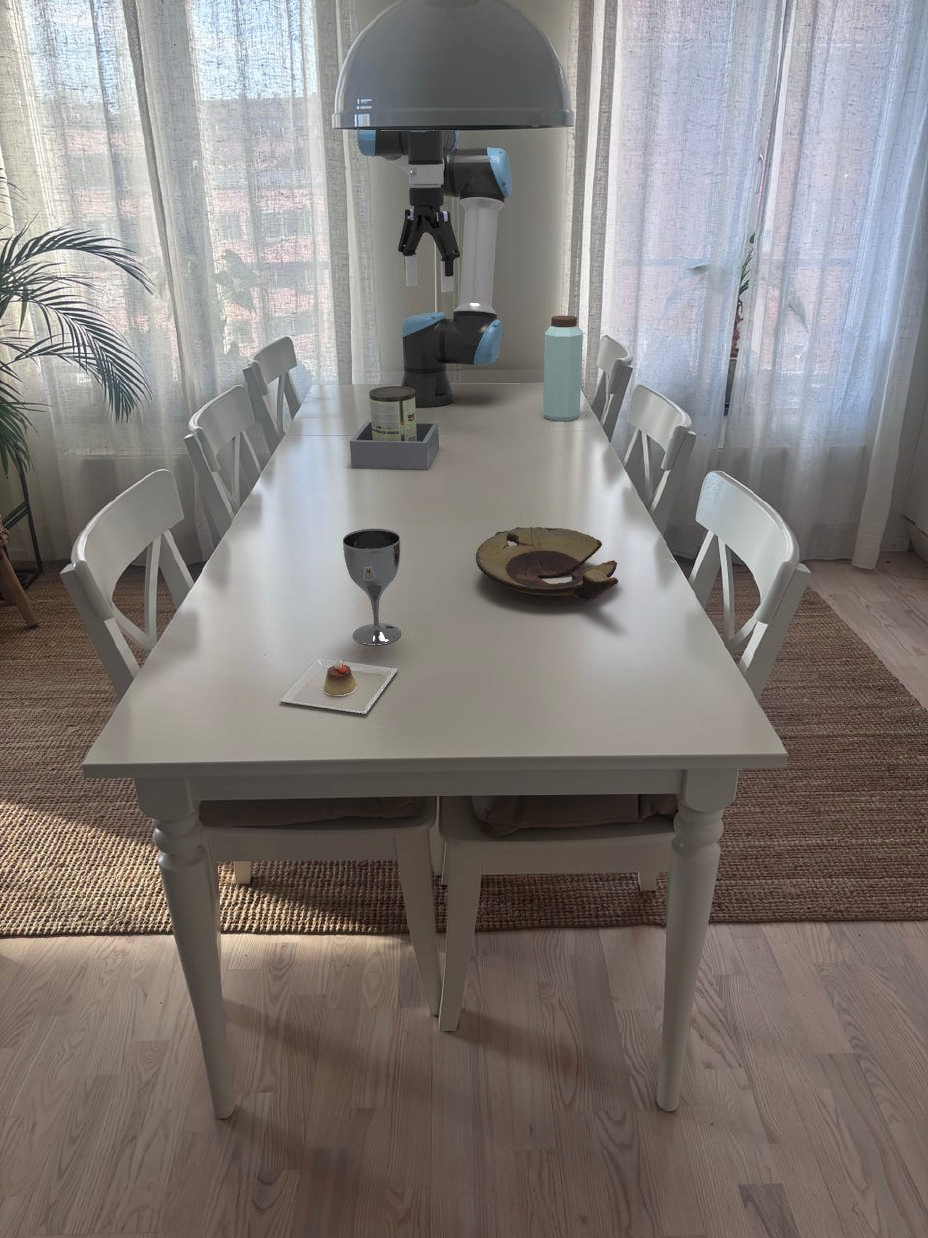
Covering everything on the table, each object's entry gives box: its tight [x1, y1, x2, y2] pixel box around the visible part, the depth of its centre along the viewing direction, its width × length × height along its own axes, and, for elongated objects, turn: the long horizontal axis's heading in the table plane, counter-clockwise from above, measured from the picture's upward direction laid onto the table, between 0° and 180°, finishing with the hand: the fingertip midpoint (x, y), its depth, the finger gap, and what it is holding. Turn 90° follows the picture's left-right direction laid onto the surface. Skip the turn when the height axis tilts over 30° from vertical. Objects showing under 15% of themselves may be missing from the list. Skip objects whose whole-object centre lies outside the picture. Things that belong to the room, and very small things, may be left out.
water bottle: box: [542, 315, 584, 422], centre depth 248 cm, size 10×10×25 cm
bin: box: [349, 420, 440, 471], centre depth 222 cm, size 17×17×6 cm
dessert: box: [278, 657, 399, 715], centre depth 128 cm, size 12×12×5 cm
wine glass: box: [342, 528, 402, 646], centre depth 140 cm, size 8×8×15 cm
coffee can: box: [368, 385, 417, 442], centre depth 220 cm, size 10×10×14 cm
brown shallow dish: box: [475, 526, 619, 601], centre depth 155 cm, size 22×30×8 cm
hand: (429, 288), depth 221 cm, fingers open, 13 cm apart
